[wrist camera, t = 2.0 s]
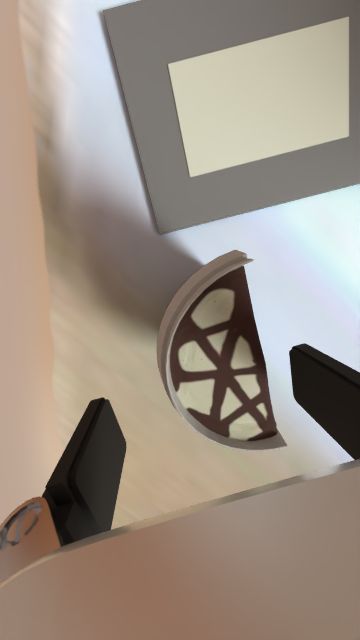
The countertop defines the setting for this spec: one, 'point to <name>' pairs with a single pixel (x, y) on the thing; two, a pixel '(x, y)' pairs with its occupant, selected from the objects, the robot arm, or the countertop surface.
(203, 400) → the food container
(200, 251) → the countertop surface
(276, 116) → the mat
